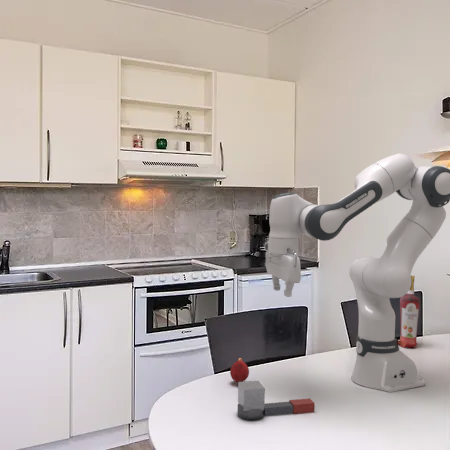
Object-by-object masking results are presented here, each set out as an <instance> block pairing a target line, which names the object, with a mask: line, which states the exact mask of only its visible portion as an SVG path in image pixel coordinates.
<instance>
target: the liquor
mask: <svg viewBox="0 0 450 450" xmlns="http://www.w3.org/2000/svg"><path fill="white" fill-rule="evenodd" d="M420 304H421V300H420V298H419V297H418V296H416V295H415V275H411V287H410V289H409V291H408V292H407V293H406V294H405V295H404V296H402V297H400V298H399V321H400V323H399V324H400V325H399V327H400V328H399V330H400V332H399V334H400V336H399V337H400V338H399V340H402V341H405V344H406V346H405V347H404V348H406V347H408V348H407V349H413V348H412V347H414V348H416V346H417V345H418V343H417V338H418V337H417V335H418V324H419V317H420V316H419V315H420Z"/></svg>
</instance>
